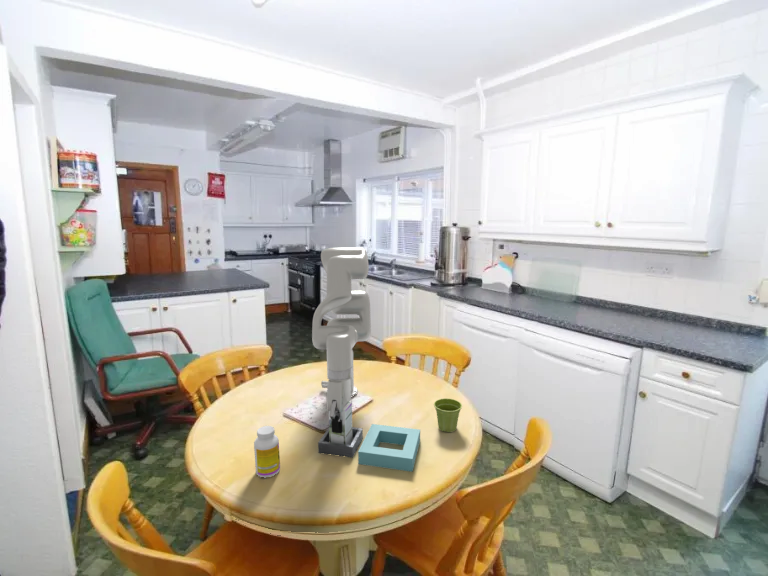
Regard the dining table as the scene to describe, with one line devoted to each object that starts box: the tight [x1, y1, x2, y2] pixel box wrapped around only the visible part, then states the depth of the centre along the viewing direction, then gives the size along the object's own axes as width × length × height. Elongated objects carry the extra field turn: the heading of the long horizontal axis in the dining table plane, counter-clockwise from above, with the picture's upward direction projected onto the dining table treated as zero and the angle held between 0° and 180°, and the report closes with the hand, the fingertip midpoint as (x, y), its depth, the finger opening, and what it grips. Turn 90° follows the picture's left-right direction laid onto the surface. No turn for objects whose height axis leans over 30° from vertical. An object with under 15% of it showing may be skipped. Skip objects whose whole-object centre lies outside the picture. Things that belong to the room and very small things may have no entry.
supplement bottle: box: [253, 425, 281, 479], centre depth 110 cm, size 7×7×13 cm
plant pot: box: [433, 398, 463, 433], centre depth 134 cm, size 9×9×9 cm
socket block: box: [357, 423, 421, 473], centre depth 120 cm, size 16×16×4 cm
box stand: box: [317, 426, 364, 459], centre depth 124 cm, size 11×11×4 cm
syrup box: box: [328, 400, 353, 445], centre depth 123 cm, size 6×6×14 cm
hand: (340, 426), depth 123 cm, fingers closed on syrup box, 6 cm apart
